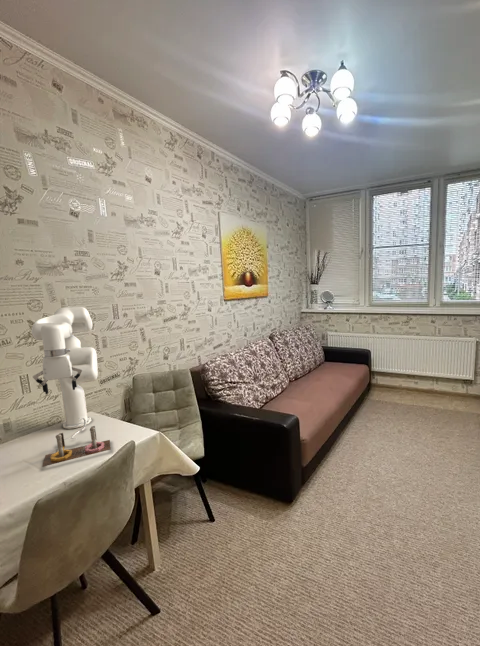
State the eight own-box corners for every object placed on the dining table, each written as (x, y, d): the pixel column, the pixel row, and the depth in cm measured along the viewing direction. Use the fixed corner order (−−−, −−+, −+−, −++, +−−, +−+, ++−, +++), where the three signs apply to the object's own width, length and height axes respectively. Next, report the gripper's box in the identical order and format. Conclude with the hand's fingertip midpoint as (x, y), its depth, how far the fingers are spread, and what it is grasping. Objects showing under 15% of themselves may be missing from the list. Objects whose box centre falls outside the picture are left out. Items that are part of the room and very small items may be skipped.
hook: (96, 425, 160) (76, 451, 141) (76, 426, 159) (54, 452, 140) (93, 413, 158) (72, 438, 139) (73, 414, 157) (50, 439, 138)
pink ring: (85, 442, 142) (83, 428, 140) (103, 438, 145) (101, 424, 144) (84, 454, 132) (82, 439, 131) (104, 449, 136) (102, 434, 134)
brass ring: (53, 449, 135) (50, 435, 134) (73, 445, 139) (70, 430, 138) (49, 463, 126) (47, 447, 124) (71, 457, 129) (69, 442, 128)
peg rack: (45, 458, 132) (41, 433, 130) (110, 442, 144) (107, 419, 142) (42, 470, 123) (38, 443, 121) (111, 452, 136) (108, 428, 134)
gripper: (79, 349, 140) (84, 385, 143) (31, 354, 131) (36, 392, 133) (79, 351, 134) (84, 389, 136) (28, 357, 125) (34, 397, 127)
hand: (60, 391), depth 135 cm, fingers open, 9 cm apart
